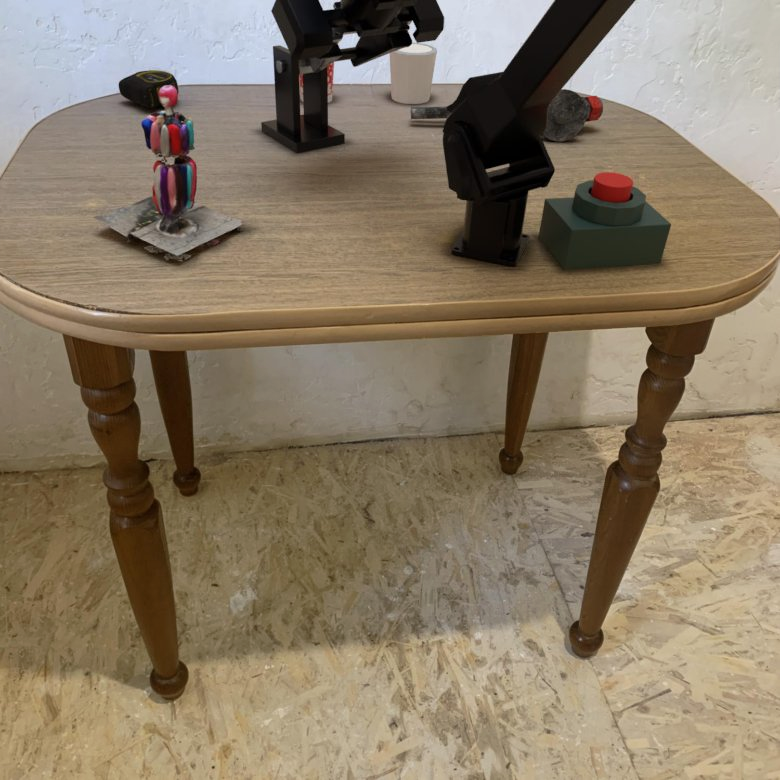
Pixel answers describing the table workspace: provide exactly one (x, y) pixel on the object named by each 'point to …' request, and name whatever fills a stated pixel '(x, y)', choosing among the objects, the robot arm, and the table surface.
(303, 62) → the lever
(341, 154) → the table surface
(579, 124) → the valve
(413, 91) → the white tapered cup
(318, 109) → the bracket
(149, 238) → the statue
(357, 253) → the table surface
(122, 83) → the tape measure
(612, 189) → the button
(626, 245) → the button box
